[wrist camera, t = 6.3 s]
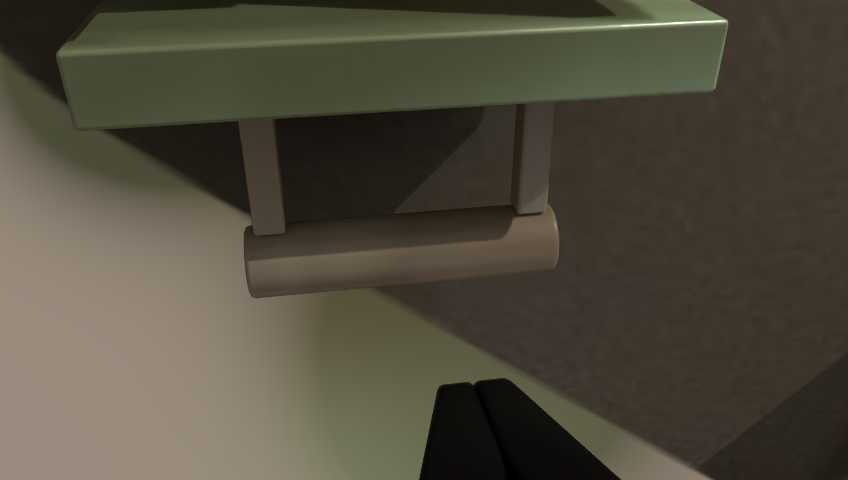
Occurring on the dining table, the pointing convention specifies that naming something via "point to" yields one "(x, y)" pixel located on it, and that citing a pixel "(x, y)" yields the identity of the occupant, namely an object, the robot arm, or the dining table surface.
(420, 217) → the drawer
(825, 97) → the dining table surface
